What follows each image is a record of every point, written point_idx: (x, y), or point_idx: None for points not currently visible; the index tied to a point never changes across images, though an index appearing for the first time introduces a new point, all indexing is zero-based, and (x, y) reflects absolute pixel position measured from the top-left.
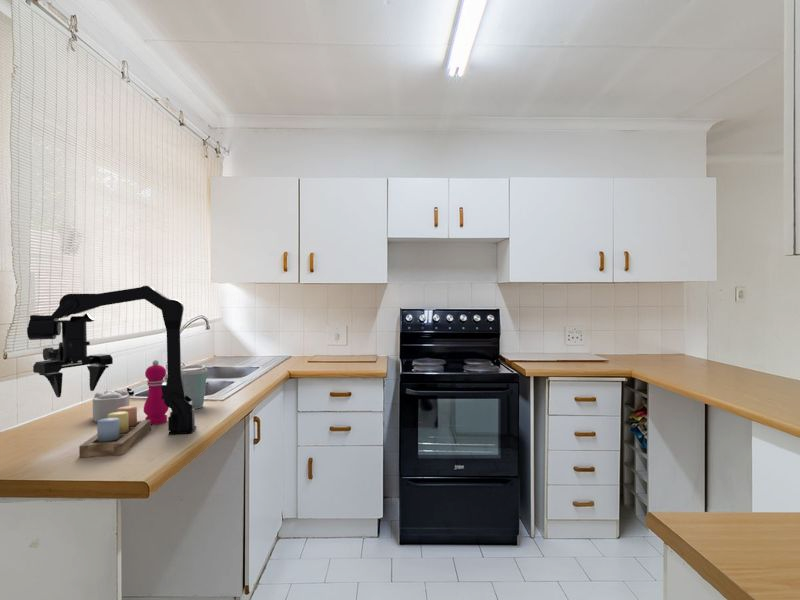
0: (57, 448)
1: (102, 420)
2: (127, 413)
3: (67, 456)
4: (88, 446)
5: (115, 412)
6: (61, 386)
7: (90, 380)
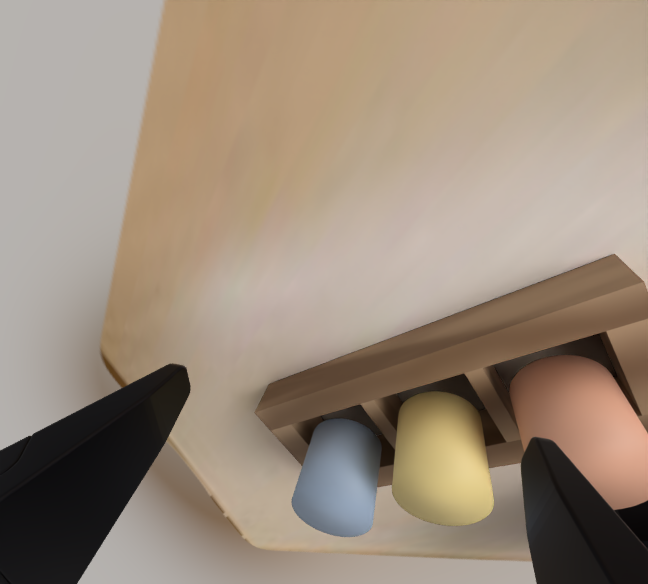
0: (292, 235)
1: (317, 498)
2: (457, 525)
3: (258, 345)
4: (272, 428)
5: (462, 476)
6: (115, 515)
7: (594, 581)
